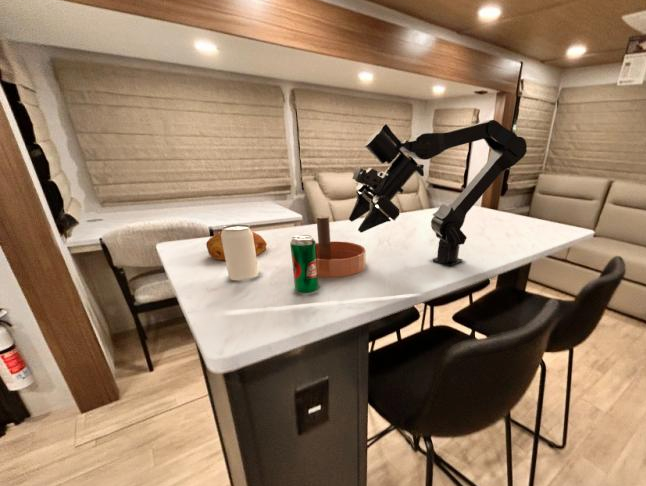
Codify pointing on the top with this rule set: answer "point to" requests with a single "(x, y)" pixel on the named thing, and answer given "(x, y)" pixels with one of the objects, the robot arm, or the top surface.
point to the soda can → (304, 263)
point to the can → (239, 252)
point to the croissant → (217, 247)
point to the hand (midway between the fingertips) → (354, 225)
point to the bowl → (342, 260)
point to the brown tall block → (324, 237)
